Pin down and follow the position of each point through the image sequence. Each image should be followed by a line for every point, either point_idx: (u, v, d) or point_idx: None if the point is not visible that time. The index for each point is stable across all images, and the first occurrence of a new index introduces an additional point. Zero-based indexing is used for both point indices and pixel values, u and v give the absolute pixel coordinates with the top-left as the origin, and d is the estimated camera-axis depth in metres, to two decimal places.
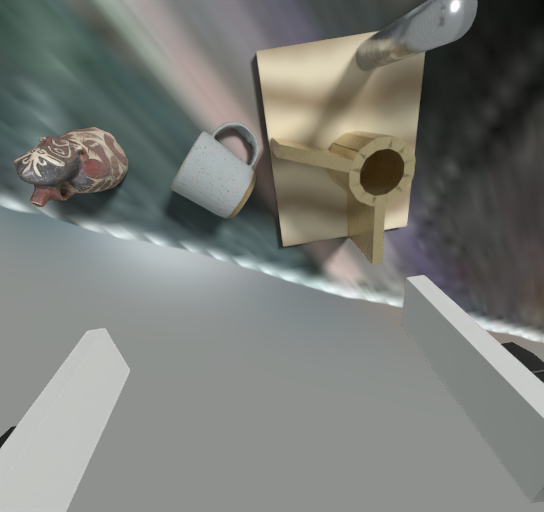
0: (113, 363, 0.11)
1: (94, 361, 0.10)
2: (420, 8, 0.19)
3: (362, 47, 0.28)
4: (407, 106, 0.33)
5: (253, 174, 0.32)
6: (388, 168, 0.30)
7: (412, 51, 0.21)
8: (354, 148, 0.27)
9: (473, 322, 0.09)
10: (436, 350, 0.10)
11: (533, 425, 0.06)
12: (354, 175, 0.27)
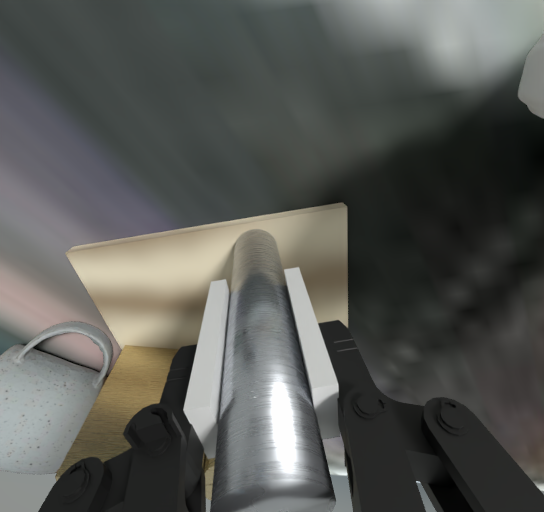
0: None
1: (226, 303, 0.12)
2: (225, 403, 0.08)
3: (234, 254, 0.17)
4: (329, 301, 0.21)
5: None
6: None
7: None
8: None
9: None
10: None
11: (307, 377, 0.08)
12: (210, 488, 0.16)
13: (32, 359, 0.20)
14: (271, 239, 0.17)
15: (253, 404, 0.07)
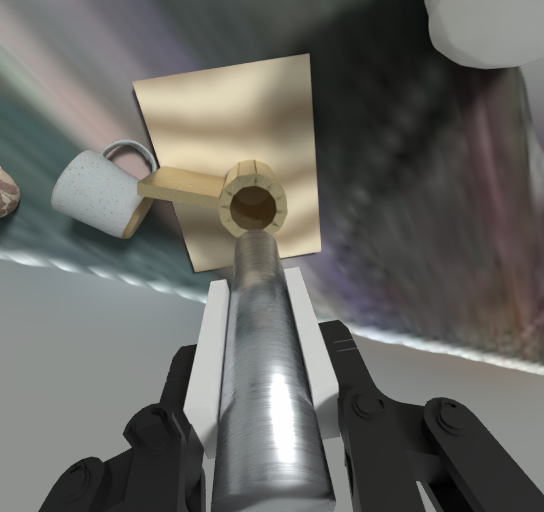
0: None
1: (226, 303, 0.12)
2: (225, 404, 0.08)
3: (234, 254, 0.17)
4: (301, 134, 0.32)
5: None
6: (273, 200, 0.30)
7: None
8: (225, 183, 0.27)
9: None
10: None
11: (307, 377, 0.08)
12: (224, 211, 0.26)
13: (107, 159, 0.30)
14: (271, 239, 0.17)
15: (254, 405, 0.07)
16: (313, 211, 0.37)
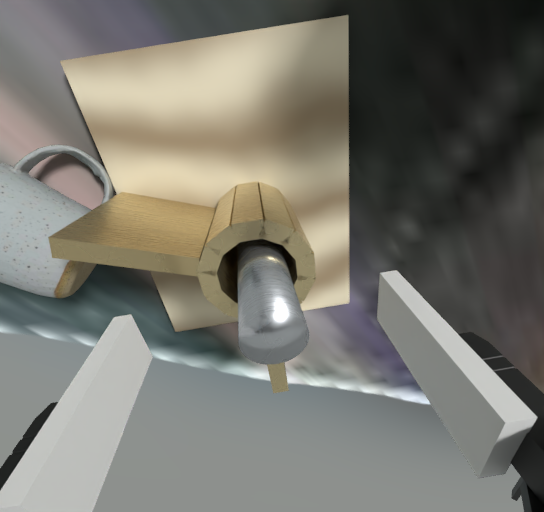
0: (138, 348, 0.12)
1: (123, 345, 0.11)
2: (242, 293, 0.13)
3: None
4: (330, 145, 0.21)
5: None
6: None
7: None
8: (210, 231, 0.16)
9: (435, 314, 0.09)
10: (404, 341, 0.10)
11: (477, 405, 0.07)
12: (208, 280, 0.15)
13: (30, 177, 0.19)
14: None
15: (260, 287, 0.12)
16: (341, 252, 0.26)
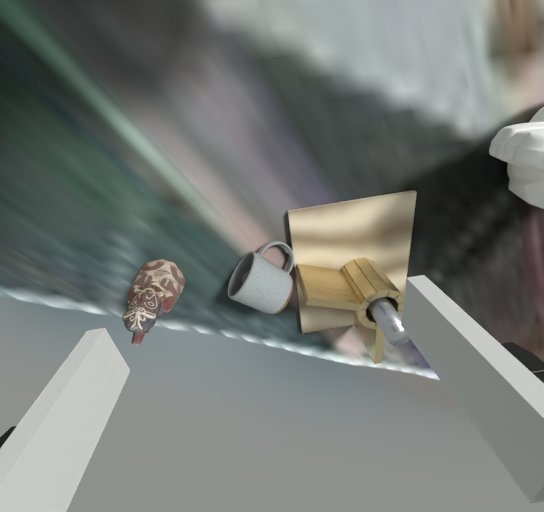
0: (113, 363, 0.11)
1: (94, 361, 0.10)
2: (383, 319, 0.34)
3: None
4: (401, 241, 0.42)
5: (291, 282, 0.40)
6: (386, 295, 0.40)
7: None
8: (361, 291, 0.37)
9: (473, 322, 0.09)
10: (436, 350, 0.10)
11: (533, 425, 0.06)
12: (361, 312, 0.37)
13: (263, 257, 0.40)
14: None
15: (392, 318, 0.33)
16: (401, 290, 0.47)
